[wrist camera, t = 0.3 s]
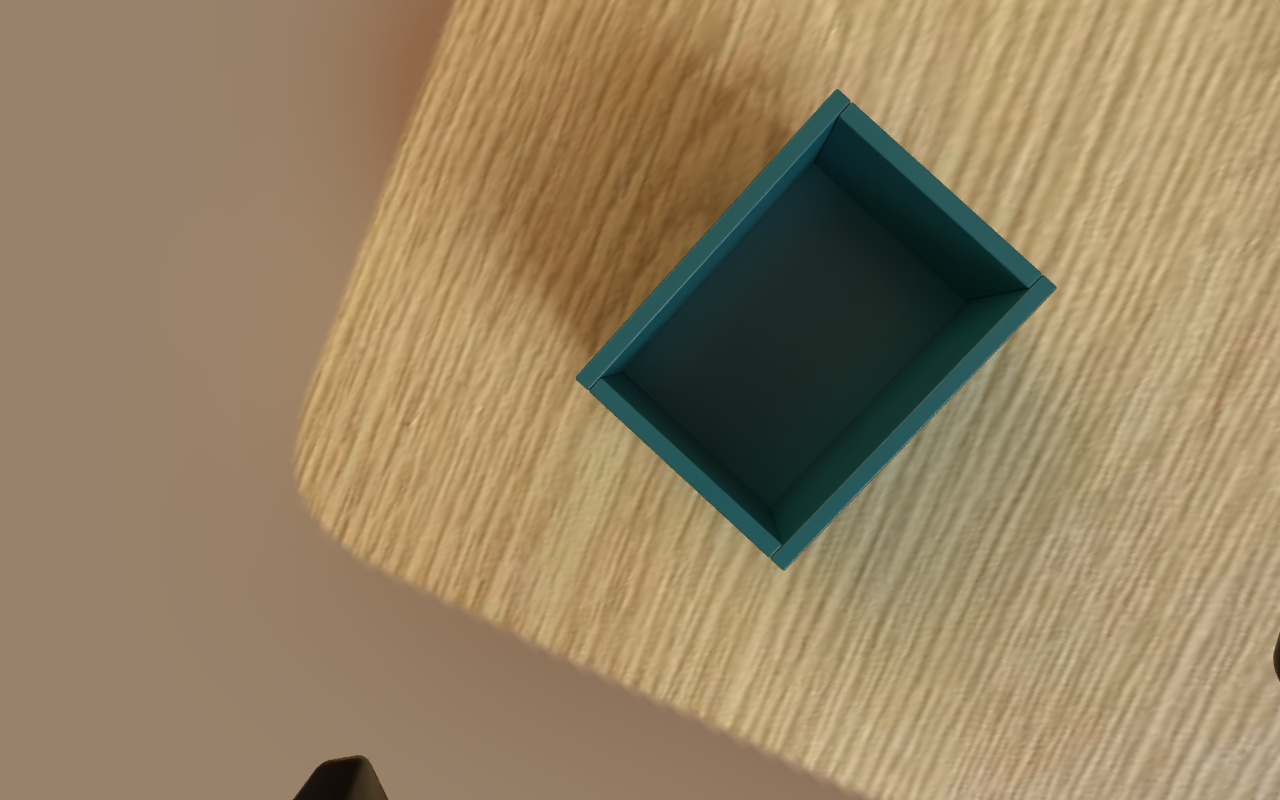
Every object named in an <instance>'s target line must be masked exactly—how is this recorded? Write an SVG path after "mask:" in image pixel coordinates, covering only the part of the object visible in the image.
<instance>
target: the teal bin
mask: <svg viewBox="0 0 1280 800" xmlns="http://www.w3.org/2000/svg"><path fill="white" fill-rule="evenodd" d="M850 102H851V101H850V100H849V99H848V98H847V97H846V96H845V95H844V94H843V93H842V92H841V91H839V90H838V89H837V90H835V91H834V92H833V93H832V94H831V95H830V96H829V98H828V99H827V100H826V101H825V102H824V103H823V104H822V105H821V106H820V108H819V109H818V110H817V111H816V112H815V113H814V114H813V115H812V116H811V117H810V119H809V120H808V121H807V122H806V123H805V124H804V125H803V126H802V127H801V129H800V130H799V131H798V132H797V133H796V134H795V135H794V136H793V137H792V138H791V140H790V141H789V142H788V143H787V144H786V145H785V146H784V147H783V148H782V150H781V151H780V152H779V153H778V154H777V155H776V156H775V157H774V158H773V159H772V161H771V162H770V163H769V164H768V165H767V166H766V167H765V168H764V169H763V171H762V172H761V173H760V174H759V175H758V176H757V177H756V178H755V179H754V180H753V182H752V183H751V184H750V185H749V186H748V187H747V188H746V189H745V190H744V192H743V193H742V194H741V195H740V196H739V197H738V198H737V199H736V200H735V201H734V203H733V204H732V205H731V206H730V207H729V208H728V209H727V210H726V211H725V213H724V214H723V215H722V216H721V217H720V218H719V219H718V220H717V221H716V222H715V224H714V225H713V226H712V227H711V228H710V229H709V230H708V231H707V232H706V234H705V235H704V236H703V237H702V238H701V239H700V240H699V241H698V242H697V243H696V245H695V246H694V247H693V248H692V249H691V250H690V251H689V252H688V253H687V255H686V256H685V257H684V258H683V259H682V260H681V261H680V262H679V263H678V264H677V266H676V267H675V268H674V269H673V270H672V271H671V272H670V273H669V274H668V276H667V277H666V278H665V279H664V280H663V281H662V282H661V283H660V284H659V285H658V287H657V288H656V289H655V290H654V291H653V292H652V293H651V294H650V295H649V297H648V298H647V299H646V300H645V301H644V302H643V303H642V304H641V305H640V306H639V308H638V309H637V310H636V311H635V312H634V313H633V314H632V315H631V316H630V318H629V319H628V320H627V321H626V322H625V323H624V324H623V325H622V326H621V327H620V329H619V330H618V331H617V332H616V333H615V334H614V335H613V336H612V337H611V339H610V340H609V341H608V342H607V343H606V344H605V345H604V346H603V347H602V348H601V350H600V351H599V352H598V353H597V354H596V355H595V356H594V357H593V358H592V360H591V361H590V362H589V363H588V364H587V365H586V366H585V367H584V368H583V369H582V371H581V372H580V373H579V374H578V375H577V376H576V380H577V381H578V382H579V383H580V384H581V385H583V386H584V387H585V388H586V389H587V390H590V393H591V394H592V395H593V396H594V397H596V398H597V399H598V400H599V401H600V402H601V403H602V404H603V405H604V406H605V407H606V408H607V409H609V410H610V411H611V412H612V413H613V414H614V415H615V416H616V417H617V418H618V419H619V420H620V421H622V422H623V423H624V424H625V425H626V426H627V427H628V428H629V429H630V430H631V431H632V432H633V433H635V434H636V435H637V436H638V437H639V438H640V439H641V440H642V441H643V442H644V443H645V444H646V445H648V446H649V447H650V448H651V449H652V450H653V451H654V452H655V453H656V454H657V455H658V456H659V457H661V458H662V459H663V460H664V461H665V462H666V463H667V464H668V465H669V466H670V467H671V468H672V469H673V470H675V471H676V472H677V473H678V474H679V475H680V476H681V477H682V478H683V479H684V480H685V481H686V482H688V483H689V484H690V485H691V486H692V487H693V488H694V489H695V490H696V491H697V492H698V493H699V494H701V495H702V496H703V497H704V498H705V499H706V500H707V501H708V502H709V503H710V504H711V505H712V506H714V507H715V508H716V509H717V510H718V511H719V512H720V513H721V514H722V515H723V516H724V517H725V518H727V519H728V520H729V521H730V522H731V523H732V524H733V525H734V526H735V527H736V528H737V529H738V530H740V531H741V532H742V533H743V534H744V535H745V536H746V537H747V538H748V539H749V540H750V541H751V542H753V543H754V544H755V545H756V546H757V547H758V548H759V549H760V550H761V551H762V552H763V553H764V554H766V555H767V556H768V557H771V560H772V561H773V562H774V563H775V564H776V565H777V566H779V567H780V568H781V569H782V570H786V569H787V568H788V567H789V566H790V565H791V563H792V562H793V561H794V560H795V559H796V558H797V557H798V556H799V555H800V554H801V553H802V552H803V551H804V550H805V549H806V548H807V547H808V546H809V545H810V544H811V543H812V542H813V541H814V540H815V539H816V538H817V537H818V536H819V534H820V533H821V532H822V531H823V530H824V529H825V528H826V527H827V526H828V525H829V524H830V523H831V522H832V521H833V520H834V519H835V518H836V517H837V516H838V515H839V514H840V513H841V512H842V511H843V510H844V509H845V508H846V506H847V505H848V504H849V503H850V502H851V501H852V500H853V499H854V498H855V497H856V496H857V495H858V494H859V493H860V492H861V491H862V490H863V489H864V488H865V487H866V486H867V485H868V484H869V483H870V482H871V481H872V480H873V478H874V477H875V476H876V475H877V474H878V473H879V472H880V471H881V470H882V469H883V468H884V467H885V466H886V465H887V464H888V463H889V462H890V461H891V460H892V459H893V458H894V457H895V456H896V455H897V454H898V453H899V452H900V451H901V449H902V448H903V447H904V446H905V445H906V444H907V443H908V442H909V441H910V440H911V439H912V438H913V437H914V436H915V435H916V434H917V433H918V432H919V431H920V430H921V429H922V428H923V427H924V426H925V425H926V424H927V423H928V421H929V420H930V419H931V418H932V417H933V416H934V415H935V414H936V413H937V412H938V411H939V410H940V409H941V408H942V407H943V406H944V405H945V404H946V403H947V402H948V401H949V400H950V399H951V398H952V397H953V396H954V395H955V394H956V392H957V391H958V390H959V389H960V388H961V387H962V386H963V385H964V384H965V383H966V382H967V381H968V380H969V379H970V378H971V377H972V376H973V375H974V374H975V373H976V372H977V371H978V370H979V369H980V368H981V367H982V366H983V364H984V363H985V362H986V361H987V360H988V359H989V358H990V357H991V356H992V355H993V354H994V353H995V352H996V351H997V350H998V349H999V348H1000V347H1001V346H1002V345H1003V344H1004V343H1005V342H1006V341H1007V340H1008V339H1009V338H1010V336H1011V335H1012V334H1013V333H1014V332H1015V331H1016V330H1017V329H1018V328H1019V327H1020V326H1021V325H1022V324H1023V323H1024V322H1025V321H1026V320H1027V319H1028V318H1029V317H1030V316H1031V315H1032V314H1033V313H1034V312H1035V311H1036V310H1037V309H1038V307H1039V306H1040V305H1041V304H1042V303H1043V302H1044V301H1045V300H1046V299H1047V298H1048V297H1049V296H1050V295H1051V294H1052V293H1053V292H1054V291H1055V290H1056V286H1055V285H1054V284H1053V283H1052V282H1051V281H1050V280H1049V279H1047V278H1046V277H1045V276H1043V275H1042V274H1041V272H1040V271H1039V270H1037V269H1036V268H1035V267H1034V266H1033V265H1032V264H1031V263H1030V262H1029V261H1027V260H1026V259H1025V258H1024V257H1023V256H1022V255H1021V254H1020V253H1019V252H1018V251H1016V250H1015V249H1014V248H1013V247H1012V246H1011V245H1010V244H1009V243H1008V242H1006V241H1005V240H1004V239H1003V238H1002V237H1001V236H1000V235H999V234H998V233H997V232H995V231H994V230H993V229H992V228H991V227H990V226H989V225H988V224H987V223H985V222H984V221H983V220H982V219H981V218H980V217H979V216H978V215H977V214H976V213H974V212H973V211H972V210H971V209H970V208H969V207H968V206H967V205H966V204H964V203H963V202H962V201H961V200H960V199H959V198H958V197H957V196H956V195H954V194H953V193H952V192H951V191H950V190H949V189H948V188H947V187H946V186H945V185H943V184H942V183H941V182H940V181H939V180H938V179H937V178H936V177H935V176H933V175H932V174H931V173H930V172H929V171H928V170H927V169H926V168H925V167H924V166H922V165H921V164H920V163H919V162H918V161H917V160H916V159H915V158H914V157H912V156H911V155H910V154H909V153H908V152H907V151H906V150H905V149H904V148H902V147H901V146H900V145H899V144H898V143H897V142H896V141H895V140H894V139H893V138H891V137H890V136H889V135H888V134H887V133H886V132H885V131H884V130H883V129H881V128H880V127H879V126H878V125H877V124H876V123H875V122H874V121H873V120H872V119H870V118H869V117H868V116H867V115H866V114H865V113H864V112H863V111H862V110H860V109H859V108H858V107H857V106H856V105H855V104H854V103H850ZM1041 275H1042V276H1041Z"/></svg>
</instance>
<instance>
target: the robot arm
mask: <svg viewBox="0 0 1280 800" xmlns="http://www.w3.org/2000/svg"><path fill="white" fill-rule="evenodd" d="M1273 661H1274V667H1275V671H1276V674H1277V677H1278V679H1279V681H1280V633H1279V636H1278V640H1277V643H1276V647H1275V650H1274V655H1273ZM293 800H388V798H387V796H386V794H385V792H384V790H383V788H382V786H381V784H380V782H379V780H378V778H377V776H376V773H375V771H374V769H373V767H372V765H371V764H370V762H369V760H368V759H367V758H365V757H364V756H360V755H356V756H350V757H344V758H339V759H333V760H328V761H326V762H324V763H322V764H321V765H320V766H319V767H317V768H316V770H315V771H314V772H313V774H312V775H311V776H310V778H309V779H308V780H307V782H306V783H305V784H304V786H303V787H302V788H301V790H300V791H299V792H298V794H297V795H296V796H295V798H294V799H293Z"/></svg>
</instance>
